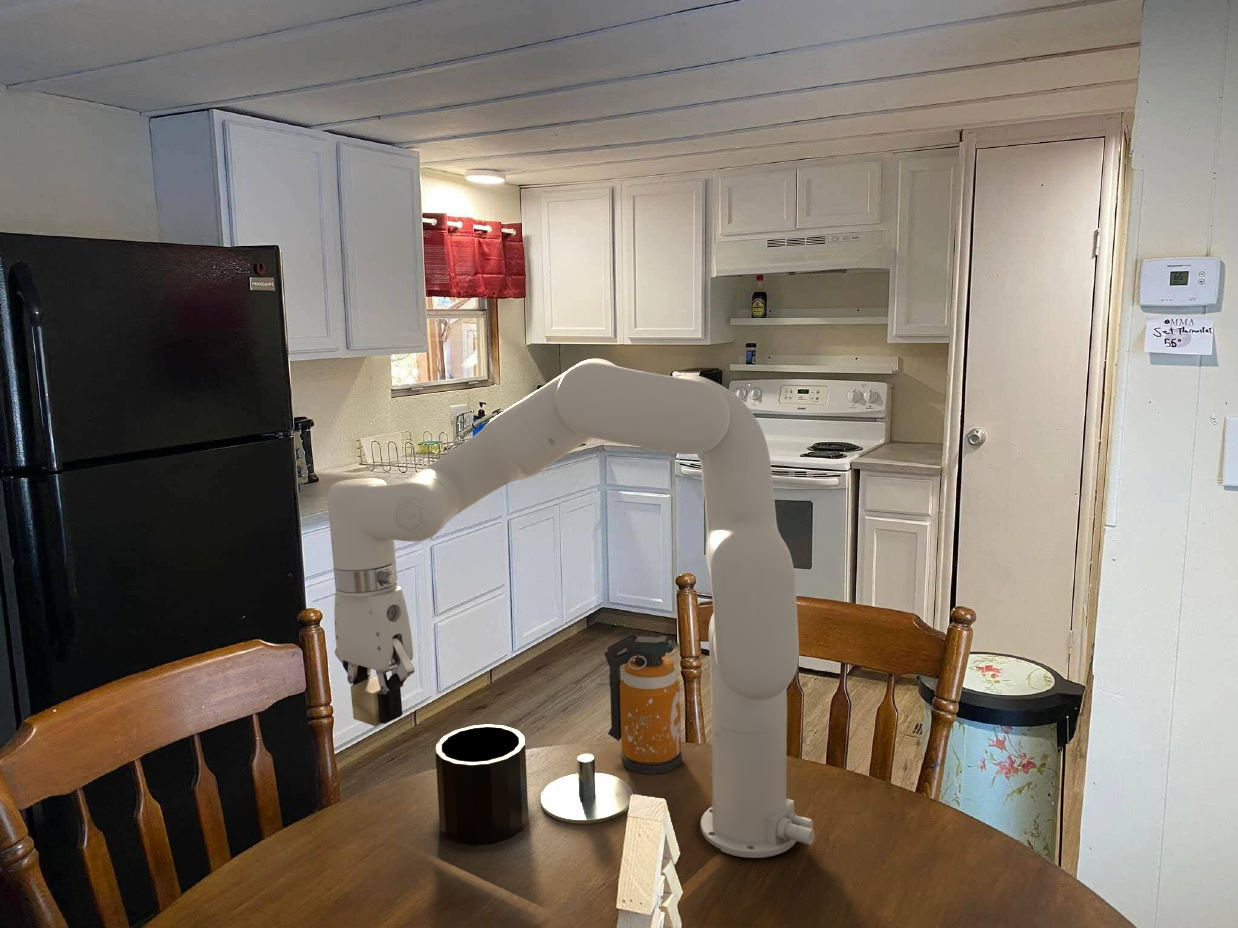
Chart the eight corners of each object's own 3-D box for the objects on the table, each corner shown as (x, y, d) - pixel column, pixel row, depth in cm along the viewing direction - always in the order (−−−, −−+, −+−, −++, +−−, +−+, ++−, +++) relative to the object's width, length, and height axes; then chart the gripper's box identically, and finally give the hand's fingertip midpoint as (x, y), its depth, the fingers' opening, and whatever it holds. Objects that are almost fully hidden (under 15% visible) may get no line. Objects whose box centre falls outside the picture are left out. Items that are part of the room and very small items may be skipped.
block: (402, 713, 117) (400, 681, 117) (375, 726, 114) (372, 693, 113) (380, 706, 120) (377, 674, 119) (353, 718, 117) (350, 686, 116)
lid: (651, 796, 128) (650, 751, 127) (595, 838, 117) (594, 790, 116) (580, 772, 135) (578, 729, 134) (522, 809, 125) (519, 764, 124)
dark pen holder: (546, 818, 123) (542, 737, 121) (485, 859, 113) (480, 773, 112) (484, 794, 129) (480, 717, 128) (422, 831, 120) (416, 749, 119)
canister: (676, 780, 132) (674, 648, 129) (602, 774, 134) (598, 644, 131) (684, 751, 141) (682, 627, 138) (614, 746, 143) (611, 624, 140)
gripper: (434, 578, 112) (445, 718, 115) (348, 562, 122) (359, 691, 125) (386, 594, 106) (398, 741, 109) (299, 576, 116) (313, 711, 119)
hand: (378, 713), depth 117 cm, fingers closed on block, 4 cm apart
